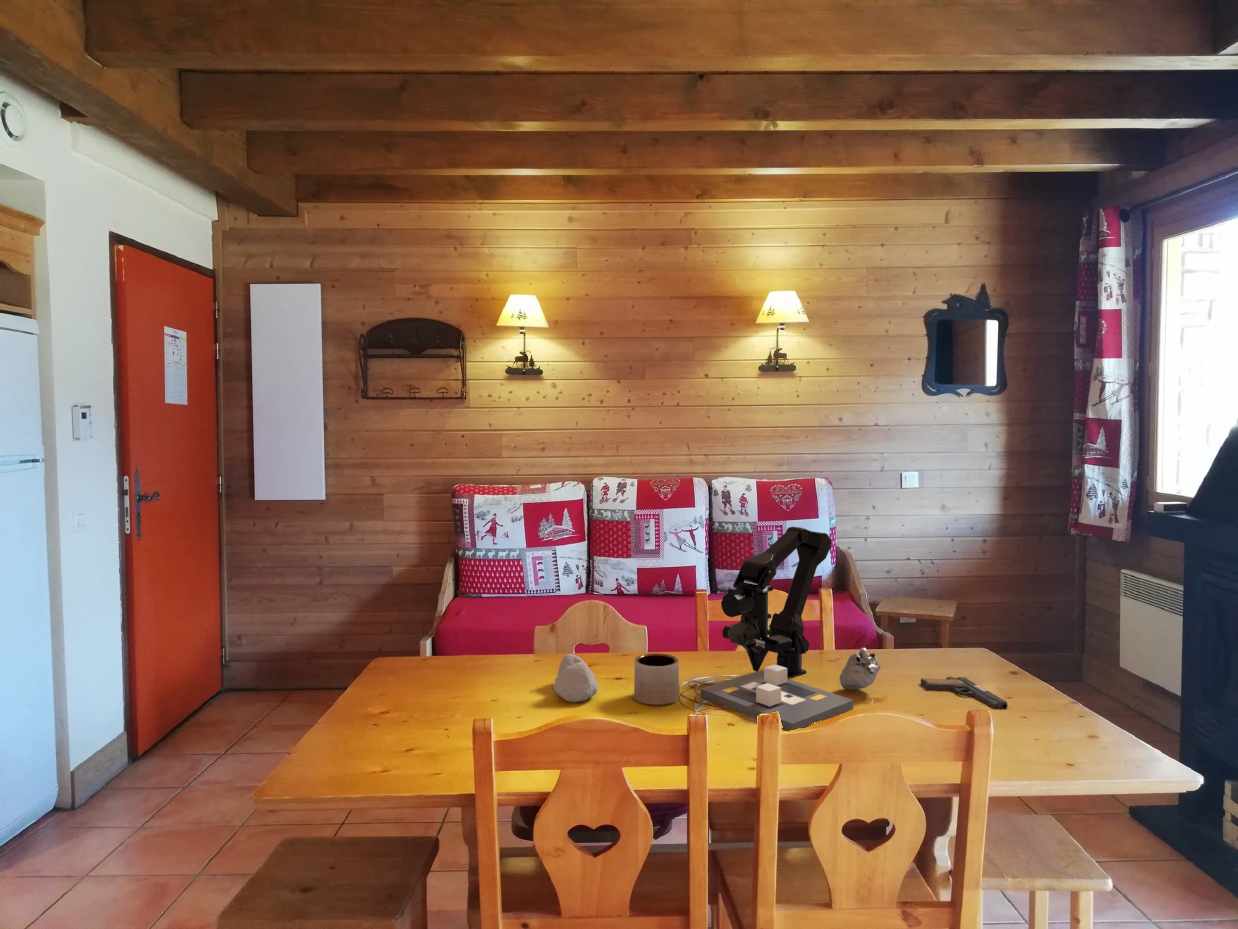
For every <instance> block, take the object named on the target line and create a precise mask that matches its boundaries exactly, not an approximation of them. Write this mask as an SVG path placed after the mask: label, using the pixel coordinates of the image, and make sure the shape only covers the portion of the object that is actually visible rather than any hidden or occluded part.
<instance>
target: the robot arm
mask: <svg viewBox="0 0 1238 929" xmlns="http://www.w3.org/2000/svg"><path fill="white" fill-rule="evenodd" d="M831 547H832V540H831V538H830V536H829V534H828V533H827V532H826V533H825V532H821V531H820V532H819V531H811V530H809V529H806V528H804V527H801V526H800V527H799V526H790V527H787V529H786V531H785V533H783V534H782V535H781V536H780V537H779V538H778V539H777V540H775V541H774V542H773V543H772V544H771V545H770V546H769V547H768V548H767V549H766V550H764V551H763V552H761V553H760V554H756V555H752V556H751V557H749V558H747V559H746V560H744V561H743V563H742V564H741V567H740V569H739V571H738V574H737V575H736V578H735V580H734V583H733V585H732V588H731V587H730V588H728V589H727V593H726V594H725V595H723V597H722V599H721V602H720V604H721V605H720V606H721V609H722V612H723V613H724V615H726V616H727V617H729V618H735V617H738V616H740V621H739V622H736V623H732V624H727V625H724V627H723V629H722V638H724V639H728V640H729V641H730V643H732V644H736V645H738V646H741V647H742V648H744V649H745V651H746V654H747V655H748V658H749V661H750V664H751V667H752V670H753V672H757V671H760V669H761V666H762V664H763V663H764V660H765V658H766V656H767V654H768V653H769V652H771V653H775V654H777V656H776V665H779V666H782V667H785V668H787V677H789V678H794V677H796V676H801V675H803V674H806V673H807V670H806V669H803V667H802V666H803V665H802V664H803V663H802V661H803V654H804V655H805V654H807V652H809V647H810V642H809V640H807V638H806V637H805V636H804V631H805V626H804V622H803V618H802V615H803V613H804V608H805V605H806V602H807V599H808V596H809V593H810V591H811V586H812V583H813V582H814V578H815V575H816V572H817V571H816V570H817V567H818V566H819V565H820V564H821V563H822V562H823V561H825V560H826V559H827V556H828V555H829V552H830V550H831ZM795 550H796V553H797V557H798V563H797V566H796V569H795V572H794V575H793V578H792V582H791V584H790V588H789V591H788V593H787V597H786V600H785V603H784V606H783V609H782V610H780V612H779V613H776V612H774V613H773V614H771V613H769V592H772V591H774V588H773V586H771V585H770V583H771V581H772V580H773V579H774V578H775V576H776V575H777V570H778V569H777V568H778V567H779V566H780V565H781V564H782V563H784V561H785V560H786V559H787V558H788V557H789V556H790V555H791V554H792V553H794V552H795ZM769 619H771V621H770V623H769Z"/></svg>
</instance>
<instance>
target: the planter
mask: <svg viewBox="0 0 1238 929" xmlns="http://www.w3.org/2000/svg"><path fill="white" fill-rule="evenodd" d="M633 662H634V664H633V665H634V672H633V674H634V675H633V678H634V680H633V682H634V683H633V685H634V686H633V696H634V699H635V700H636V701H637V702H639V703H641V704H643V705H647V706H651V707H652V706H653V707H654V706H655V707H657V706H658V707H661V706H662V707H663V706H668V705H671V704H673V703H674V704H675V702H676V701H677V702H678V700H679V698H680V659H679V658H678V657H676V656H675V655H672V654H667V653H661V652H660V653H658V652H656V653H655V652H653V653H645V654H641V655H638V656H636V657H635V658H634V661H633Z"/></svg>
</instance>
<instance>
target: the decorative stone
mask: <svg viewBox="0 0 1238 929" xmlns="http://www.w3.org/2000/svg"><path fill="white" fill-rule="evenodd" d="M598 687H599V685H598V681H597V679H596V677H595V674H594V672H593V671H592V670H591V668H590V667H589V665H588V664H587V663H586V662H585V661H584V660H583V659H582V658H581V657H579V656H578V655H575V654H573V653H570V654H565V655H564V656H563V657H562V658H561V661H560V663H559V667H558V671H557V675H556V677H555V680H554V684H553V688H552V689H553V691H554V692H555V693H556V694H558V696H560V697H561V699H563V700H564V701H567V702H570V703H578V702H579V703H581V702H584V701H586V700H589V699H590V698H592V697H594V696H595V695H597V693H598V690H599V688H598Z"/></svg>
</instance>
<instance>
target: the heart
mask: <svg viewBox="0 0 1238 929" xmlns="http://www.w3.org/2000/svg"><path fill="white" fill-rule="evenodd" d="M881 669H882V667H881V665H880V663H879V660H878V657H877V655H876V653H875V652H872V653H869V651H868V649H867V648H866V647H861V648H860V649H859V652H855V653H852V654H851V655H850V656H849V657H848V659H847V662H846V663H845V666H844V667H843V669H842V671H841V673H840V675H839V683H840V686H841V687H842V688H843V689H844V690H846V691H851V690H861V689H865V688H868V687H869V686H871V685H873V684H874V682H875V680H876V678H877V675H878V673H879V672H880V670H881Z"/></svg>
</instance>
